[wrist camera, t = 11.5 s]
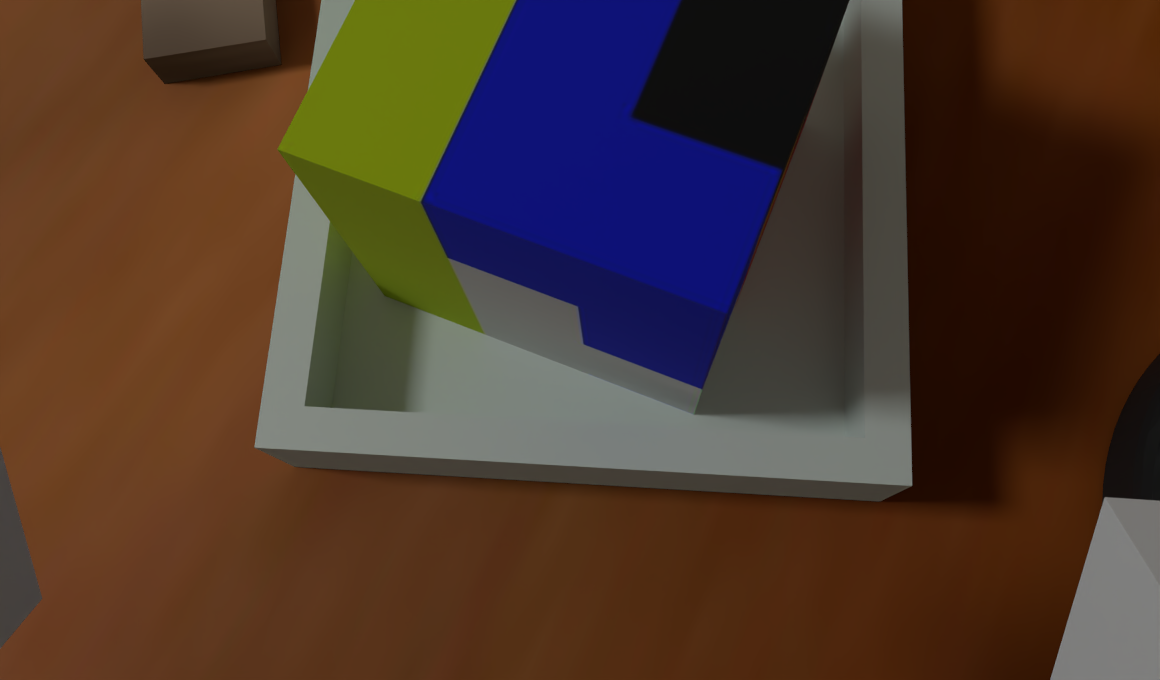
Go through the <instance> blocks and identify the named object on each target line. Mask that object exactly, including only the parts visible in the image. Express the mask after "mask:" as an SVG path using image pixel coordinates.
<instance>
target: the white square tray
mask: <svg viewBox="0 0 1160 680" xmlns="http://www.w3.org/2000/svg"><path fill="white" fill-rule="evenodd" d="M354 1H355V0H321V7H320V14H319V20H318V27H317V34H316V40H315V47H314V54H313V60H312V67H311V74H310V80H309V87H308V90H309V88H310V86H311V84H312V82H313V80H314V78H315V76H316V74H317V72H318V70H319V68H320V67H321V65H322V63H323V61H324V59H325V57H326V55H327V53H328V51H329V49H330V47H331V45H332V43H333V41H334V40H335V38H336V36H337V34H338V32H339V30H340V28H341V26H342V24H343V22H344V20H345V18H346V16H347V15H348V13H349V11H350V9H351V7H352V5H353V3H354ZM254 448H256V449H258V450H261V451H263V452H265V453H267V454H269V455H271V456H273V457H275V458H277V459H279V460H282V461H284V462H286V463H288V464H290V465H292V466H294V467H306V468H323V469H340V470H357V471H374V472H391V473H407V474H424V475H441V476H458V477H475V478H492V479H508V480H525V481H542V482H559V483H576V484H593V485H610V486H626V487H643V488H660V489H677V490H694V491H711V492H728V493H744V494H761V495H778V496H795V497H812V498H829V499H846V500H862V501H879V502H880V501H882V500H884V499H886V498H888V497H890V496H892V495H894V494H897V493H899V492H901V491H903V490H905V489H907V488H909V487H911V486H912V451H911V403H910V356H909V308H908V261H907V213H906V165H905V118H904V70H903V23H902V0H850V1H849V3H848V6H847V9H846V12H845V14H844V17H843V20H842V23H841V26H840V28H839V31H838V34H837V37H836V39H835V42H834V45H833V48H832V50H831V53H830V56H829V59H828V62H827V64H826V67H825V70H824V73H823V75H822V78H821V81H820V84H819V87H818V89H817V92H816V95H815V98H814V100H813V103H812V106H811V109H810V111H809V114H808V117H807V120H806V123H805V125H804V128H803V130H802V133H801V136H800V138H799V141H798V144H797V146H796V149H795V151H794V154H793V157H792V159H791V162H790V164H789V167H788V170H787V172H786V175H785V178H784V180H783V183H782V185H781V188H780V191H779V193H778V196H777V199H776V201H775V204H774V206H773V209H772V212H771V214H770V217H769V220H768V222H767V225H766V227H765V230H764V233H763V235H762V238H761V240H760V243H759V246H758V248H757V251H756V254H755V256H754V259H753V261H752V264H751V267H750V269H749V272H748V275H747V277H746V280H745V282H744V285H743V288H742V290H741V293H740V295H739V298H738V301H737V303H736V306H735V309H734V311H733V314H732V316H731V319H730V322H729V324H728V327H727V330H726V332H725V335H724V337H723V340H722V343H721V345H720V348H719V351H718V353H717V356H716V358H715V361H714V364H713V366H712V369H711V371H710V374H709V377H708V379H707V382H706V385H705V387H704V390H703V392H702V395H701V398H700V400H699V403H698V406H697V408H696V411H695V413H694V414H691V413H688V412H686V411H683V410H681V409H678V408H675V407H673V406H670V405H668V404H665V403H662V402H660V401H657V400H654V399H652V398H649V397H647V396H644V395H641V394H639V393H636V392H634V391H631V390H628V389H626V388H623V387H621V386H618V385H615V384H613V383H610V382H608V381H605V380H602V379H600V378H597V377H595V376H592V375H589V374H587V373H584V372H581V371H579V370H576V369H574V368H571V367H568V366H566V365H563V364H561V363H558V362H555V361H553V360H550V359H548V358H545V357H542V356H540V355H537V354H535V353H532V352H529V351H527V350H524V349H522V348H519V347H516V346H514V345H511V344H509V343H506V342H503V341H501V340H498V339H495V338H493V337H490V336H488V335H485V334H482V333H480V332H477V331H475V330H472V329H469V328H467V327H464V326H462V325H459V324H456V323H454V322H451V321H449V320H446V319H443V318H441V317H438V316H436V315H433V314H430V313H428V312H425V311H422V310H420V309H417V308H415V307H412V306H409V305H407V304H404V303H402V302H399V301H396V300H394V299H391V298H389V297H386V296H384V294H383V293H382V292H381V290H380V289H379V288H378V286H377V285H376V284H375V282H374V281H373V279H372V278H371V277H370V275H369V274H368V273H367V271H366V270H365V268H364V267H363V266H362V264H361V263H360V262H359V260H358V259H357V258H356V256H355V255H354V253H353V252H352V251H351V249H350V248H349V247H348V245H347V244H346V242H345V241H344V240H343V238H342V237H341V236H340V234H339V233H338V232H337V230H336V229H335V227H334V226H333V225H332V223H331V222H330V221H329V219H328V218H327V216H326V215H325V214H324V212H323V211H322V210H321V208H320V207H319V206H318V204H317V203H316V201H315V200H314V199H313V197H312V196H311V195H310V193H309V192H308V190H307V189H306V188H305V186H304V185H303V184H302V182H301V181H300V180H299V178H298V177H297V175H296V174H295V180H294V187H293V194H292V200H291V207H290V214H289V220H288V227H287V234H286V240H285V247H284V254H283V260H282V267H281V274H280V280H279V287H278V294H277V300H276V307H275V314H274V320H273V327H272V334H271V340H270V347H269V354H268V360H267V367H266V374H265V380H264V387H263V394H262V400H261V407H260V414H259V420H258V427H257V434H256V440H255V447H254Z"/></svg>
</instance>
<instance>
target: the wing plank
mask: <svg viewBox="0 0 1160 680" xmlns="http://www.w3.org/2000/svg"><path fill="white" fill-rule="evenodd" d="M141 9H142V31H143V53H144V60H145V61H146V62H147V64H148V65H149V66H150V67H151V68H152V69H153V71H154V72H155V73H156V74H157V75H158V77H159V78H160V79H161V80H162V81H163V82H164V84H166V83H172V82H179V81H185V80H191V79H197V78H203V77H209V76H215V75H222V74H228V73H234V72H240V71H246V70H252V69H259V68H265V67H271V66H277V65H281V55H280V43H279V32H278V20H277V9H276V0H141Z"/></svg>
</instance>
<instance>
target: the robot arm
mask: <svg viewBox="0 0 1160 680" xmlns="http://www.w3.org/2000/svg"><path fill="white" fill-rule="evenodd" d="M41 599H42V596H41V593H40V589H39V585H38V582H37V578H36V575H35V571H34V567H33V564H32V560H31V557H30V553H29V549H28V546H27V542H26V539H25V535H24V531H23V528H22V524H21V521H20V517H19V513H18V510H17V506H16V503H15V499H14V495H13V492H12V488H11V484H10V481H9V477H8V474H7V470H6V466H5V463H4V459H3V456H2V452H1V448H0V648H1V647H2V646H3V644H4V643H5V642H6V641H7V640H8V639H9V637H10V636H11V635H12V634H13V633H14V631H15V630H16V629H17V628H18V627H19V625H20V624H21V623H22V622H23V621H24V620H25V618H26V617H27V616H28V615H29V614H30V612H31V611H32V610H33V609H34V608H35V606H36V605H37V604H38V603H39V602H40V601H41ZM1050 680H1160V354H1159V355H1158V356H1157V357H1156V359H1155V360H1154V361H1153V362H1152V363H1151V364H1150V366H1149V367H1148V368H1147V370H1146V371H1145V372H1144V374H1143V375H1142V376H1141V378H1140V379H1139V381H1138V382H1137V384H1136V385H1135V387H1134V389H1133V390H1132V392H1131V394H1130V395H1129V397H1128V399H1127V401H1126V404H1125V406H1124V408H1123V410H1122V412H1121V414H1120V417H1119V419H1118V422H1117V424H1116V427H1115V430H1114V433H1113V437H1112V440H1111V443H1110V447H1109V452H1108V456H1107V461H1106V467H1105V475H1104V483H1103V504H1102V508H1101V511H1100V514H1099V518H1098V521H1097V525H1096V528H1095V531H1094V535H1093V538H1092V541H1091V545H1090V548H1089V551H1088V555H1087V558H1086V561H1085V565H1084V568H1083V572H1082V575H1081V578H1080V582H1079V585H1078V588H1077V592H1076V595H1075V598H1074V602H1073V605H1072V608H1071V612H1070V615H1069V618H1068V622H1067V625H1066V629H1065V632H1064V635H1063V639H1062V642H1061V645H1060V649H1059V652H1058V655H1057V659H1056V662H1055V665H1054V669H1053V672H1052V675H1051V679H1050Z"/></svg>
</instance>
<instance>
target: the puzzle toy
mask: <svg viewBox="0 0 1160 680" xmlns="http://www.w3.org/2000/svg"><path fill="white" fill-rule="evenodd" d="M849 1H850V0H355V1H354V3H353V5H352V7H351V9H350V11H349V13H348V15H347V16H346V18H345V20H344V22H343V24H342V26H341V28H340V30H339V32H338V34H337V36H336V38H335V40H334V41H333V43H332V45H331V47H330V49H329V51H328V53H327V55H326V57H325V59H324V61H323V63H322V65H321V67H320V68H319V70H318V72H317V74H316V76H315V78H314V80H313V82H312V84H311V86H310V88H309V90H308V92H307V93H306V95H305V97H304V99H303V101H302V103H301V105H300V107H299V109H298V111H297V113H296V115H295V117H294V118H293V120H292V122H291V124H290V126H289V128H288V130H287V132H286V134H285V136H284V138H283V140H282V142H281V144H280V145H279V147H278V151H279V152H280V154H281V155H282V156H283V158H284V159H285V160H286V162H287V163H288V164H289V166H290V167H291V169H292V170H293V171H294V173H295V174H296V175H297V177H298V178H299V180H300V181H301V182H302V184H303V185H304V186H305V188H306V189H307V190H308V192H309V193H310V195H311V196H312V197H313V199H314V200H315V201H316V203H317V204H318V206H319V207H320V208H321V210H322V211H323V212H324V214H325V215H326V216H327V218H328V219H329V221H330V222H331V223H332V225H333V226H334V227H335V229H336V230H337V232H338V233H339V234H340V236H341V237H342V238H343V240H344V241H345V242H346V244H347V245H348V247H349V248H350V249H351V251H352V252H353V253H354V255H355V256H356V258H357V259H358V260H359V262H360V263H361V264H362V266H363V267H364V268H365V270H366V271H367V273H368V274H369V275H370V277H371V278H372V279H373V281H374V282H375V284H376V285H377V286H378V288H379V289H380V290H381V292H382V293H383V294H384V296H386V297H389V298H391V299H394V300H396V301H399V302H402V303H404V304H407V305H409V306H412V307H415V308H417V309H420V310H422V311H425V312H428V313H430V314H433V315H436V316H438V317H441V318H443V319H446V320H449V321H451V322H454V323H456V324H459V325H462V326H464V327H467V328H469V329H472V330H475V331H477V332H480V333H482V334H485V335H488V336H490V337H493V338H495V339H498V340H501V341H503V342H506V343H509V344H511V345H514V346H516V347H519V348H522V349H524V350H527V351H529V352H532V353H535V354H537V355H540V356H542V357H545V358H548V359H550V360H553V361H555V362H558V363H561V364H563V365H566V366H568V367H571V368H574V369H576V370H579V371H581V372H584V373H587V374H589V375H592V376H595V377H597V378H600V379H602V380H605V381H608V382H610V383H613V384H615V385H618V386H621V387H623V388H626V389H628V390H631V391H634V392H636V393H639V394H641V395H644V396H647V397H649V398H652V399H654V400H657V401H660V402H662V403H665V404H668V405H670V406H673V407H675V408H678V409H681V410H683V411H686V412H688V413H691V414H694V413H695V411H696V408H697V406H698V403H699V400H700V398H701V395H702V392H703V390H704V387H705V385H706V382H707V379H708V377H709V374H710V371H711V369H712V366H713V364H714V361H715V358H716V356H717V353H718V351H719V348H720V345H721V343H722V340H723V337H724V335H725V332H726V330H727V327H728V324H729V322H730V319H731V316H732V314H733V311H734V309H735V306H736V303H737V301H738V298H739V295H740V293H741V290H742V288H743V285H744V282H745V280H746V277H747V275H748V272H749V269H750V267H751V264H752V261H753V259H754V256H755V254H756V251H757V248H758V246H759V243H760V240H761V238H762V235H763V233H764V230H765V227H766V225H767V222H768V220H769V217H770V214H771V212H772V209H773V206H774V204H775V201H776V199H777V196H778V193H779V191H780V188H781V185H782V183H783V180H784V178H785V175H786V172H787V170H788V167H789V164H790V162H791V159H792V157H793V154H794V151H795V149H796V146H797V144H798V141H799V138H800V136H801V133H802V130H803V128H804V125H805V123H806V120H807V117H808V114H809V111H810V109H811V106H812V103H813V100H814V98H815V95H816V92H817V89H818V87H819V84H820V81H821V78H822V75H823V73H824V70H825V67H826V64H827V62H828V59H829V56H830V53H831V50H832V48H833V45H834V42H835V39H836V37H837V34H838V31H839V28H840V26H841V23H842V20H843V17H844V14H845V12H846V9H847V6H848V3H849Z"/></svg>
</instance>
